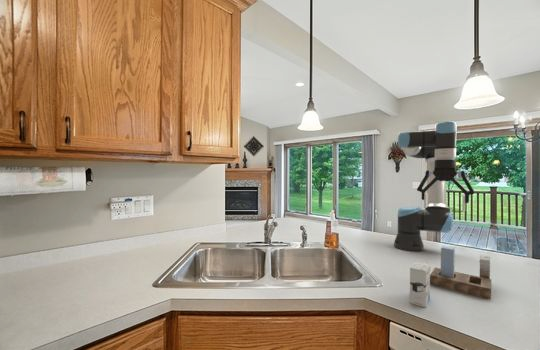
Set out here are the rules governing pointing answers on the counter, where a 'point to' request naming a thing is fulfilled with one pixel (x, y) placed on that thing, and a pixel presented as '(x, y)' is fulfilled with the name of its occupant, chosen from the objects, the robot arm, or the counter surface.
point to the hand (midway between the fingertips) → (443, 209)
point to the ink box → (420, 284)
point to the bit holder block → (462, 283)
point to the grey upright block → (485, 267)
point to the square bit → (447, 261)
